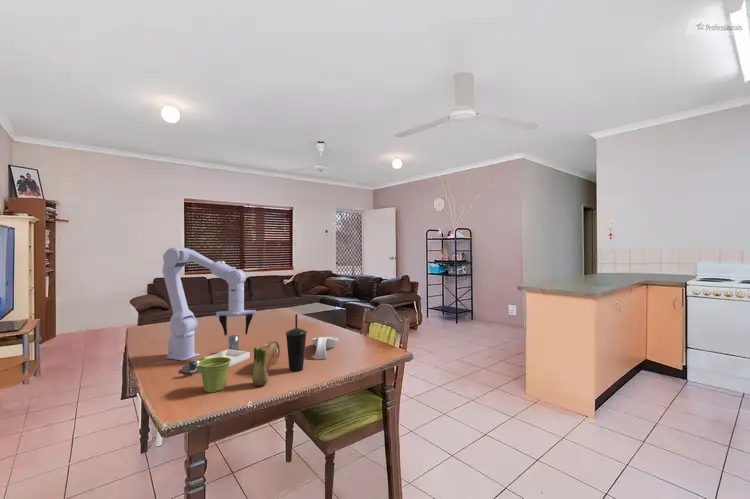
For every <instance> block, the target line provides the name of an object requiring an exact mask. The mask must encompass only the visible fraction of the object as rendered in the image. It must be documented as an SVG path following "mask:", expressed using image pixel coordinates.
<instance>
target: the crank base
mask: <svg viewBox="0 0 750 499" xmlns="http://www.w3.org/2000/svg"><path fill="white" fill-rule="evenodd" d="M181 373H183V374H185V375H188V374H189V375H193V374H194V375H195V374H200V373H201V370H200V366H198V367H197V370H196V372H191V373H190V370H189V364H186V365H184V366H182V367H181Z"/></svg>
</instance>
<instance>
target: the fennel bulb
mask: <svg viewBox="0 0 750 499" xmlns="http://www.w3.org/2000/svg"><path fill="white" fill-rule="evenodd" d="M267 370H268V369H267ZM267 370H266V364H265V349H263V347H262V348H259V347H258V346H254V347H253V368H252V376H251V377H252V378H251V379H252V384H253V386H255V387H262V386H265V385H266V384H267V383H268V382H269V374H268V371H267Z"/></svg>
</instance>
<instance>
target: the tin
mask: <svg viewBox="0 0 750 499" xmlns="http://www.w3.org/2000/svg"><path fill="white" fill-rule="evenodd" d="M262 347H263V349H265V364H266V370H268V369H270V368H271V367H272V366H274V365H276V364H277V362H278V361H279V359H280V355H281V354H280V345H279V343H278V342H277V341H268V342H266V343H265V344H263V345H261V346H260V347H258V348H262Z"/></svg>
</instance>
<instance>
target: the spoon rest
mask: <svg viewBox="0 0 750 499" xmlns="http://www.w3.org/2000/svg"><path fill="white" fill-rule="evenodd" d="M311 342H312V344H313V345H314V346H315V347H316V350H315V355H314V360H327V358H328V357H327V356H328V354H327V350H329V349H332V348H333V347H335V346H336V345H337V343H338V342H339V338H338V337H335V336H321V337H320V336H319V337H315V338H312V339H311Z"/></svg>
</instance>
